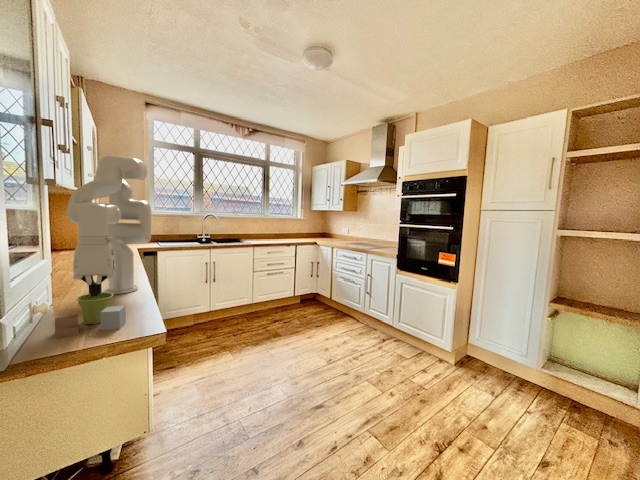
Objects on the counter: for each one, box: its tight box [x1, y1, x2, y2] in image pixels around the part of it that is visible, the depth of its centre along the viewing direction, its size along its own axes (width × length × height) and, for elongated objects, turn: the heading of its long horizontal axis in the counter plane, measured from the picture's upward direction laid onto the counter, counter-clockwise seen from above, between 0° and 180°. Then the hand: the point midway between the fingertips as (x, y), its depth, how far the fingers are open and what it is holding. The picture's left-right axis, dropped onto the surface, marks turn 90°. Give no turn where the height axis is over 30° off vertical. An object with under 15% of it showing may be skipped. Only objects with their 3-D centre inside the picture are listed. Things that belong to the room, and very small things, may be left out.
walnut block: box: [54, 313, 80, 339], centre depth 79 cm, size 5×5×5 cm
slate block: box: [100, 305, 127, 331], centre depth 85 cm, size 5×5×6 cm
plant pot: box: [75, 291, 114, 325], centre depth 89 cm, size 9×9×9 cm
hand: (95, 295), depth 88 cm, fingers closed
